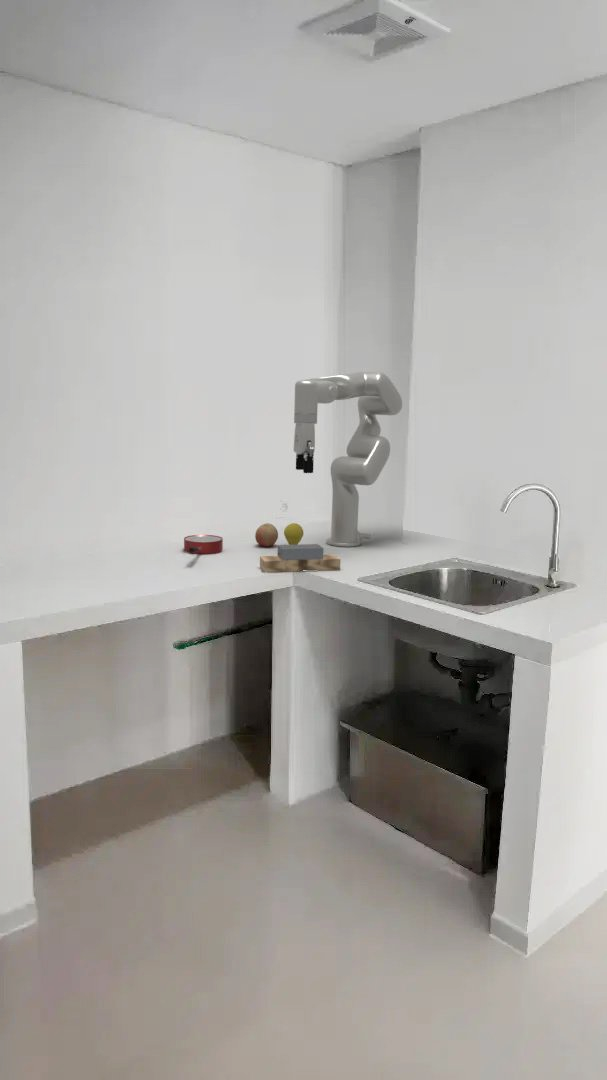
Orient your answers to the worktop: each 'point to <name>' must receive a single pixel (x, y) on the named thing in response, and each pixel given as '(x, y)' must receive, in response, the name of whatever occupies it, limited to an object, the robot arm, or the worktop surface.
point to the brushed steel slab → (300, 552)
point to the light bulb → (293, 533)
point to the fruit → (266, 535)
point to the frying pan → (203, 544)
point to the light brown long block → (299, 564)
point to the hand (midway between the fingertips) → (304, 471)
